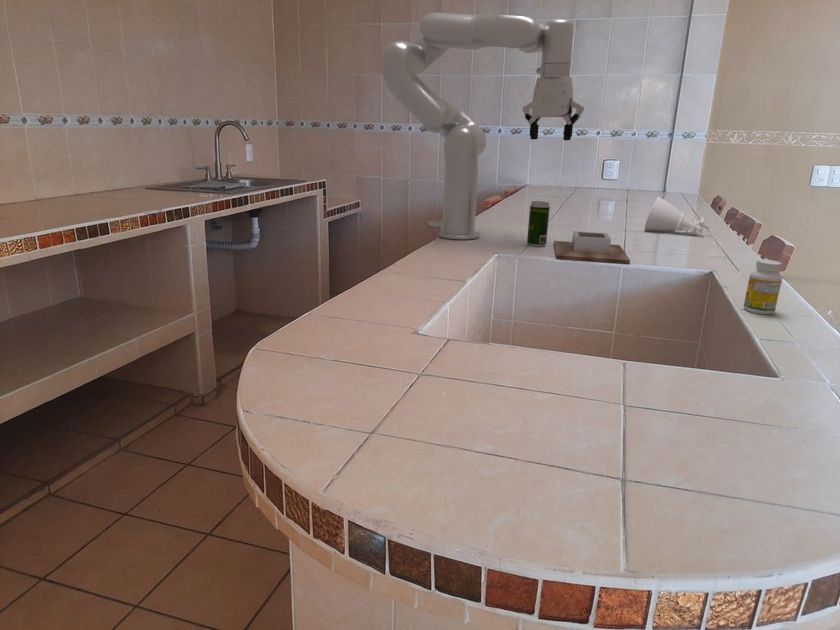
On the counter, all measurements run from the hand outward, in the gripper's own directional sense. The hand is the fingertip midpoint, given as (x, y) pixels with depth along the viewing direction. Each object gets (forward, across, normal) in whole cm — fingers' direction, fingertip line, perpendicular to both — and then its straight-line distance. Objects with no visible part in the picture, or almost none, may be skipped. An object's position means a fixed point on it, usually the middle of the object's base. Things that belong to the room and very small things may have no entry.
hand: (550, 139), depth 163 cm
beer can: (+29, 0, -3) cm, 29 cm away
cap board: (+29, +15, -3) cm, 33 cm away
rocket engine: (+30, +24, +48) cm, 61 cm away
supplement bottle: (+30, +60, -30) cm, 73 cm away
